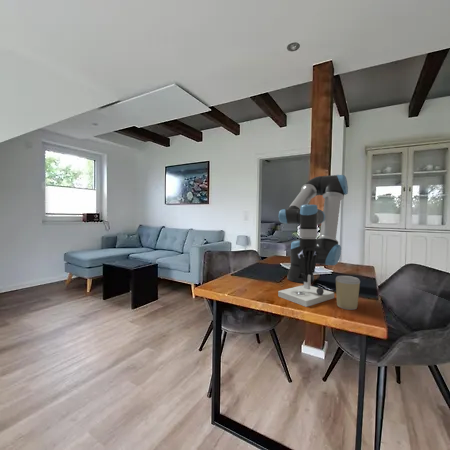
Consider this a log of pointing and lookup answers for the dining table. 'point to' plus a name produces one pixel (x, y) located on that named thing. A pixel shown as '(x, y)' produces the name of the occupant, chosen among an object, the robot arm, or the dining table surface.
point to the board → (305, 295)
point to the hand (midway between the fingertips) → (307, 288)
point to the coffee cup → (347, 292)
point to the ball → (320, 291)
